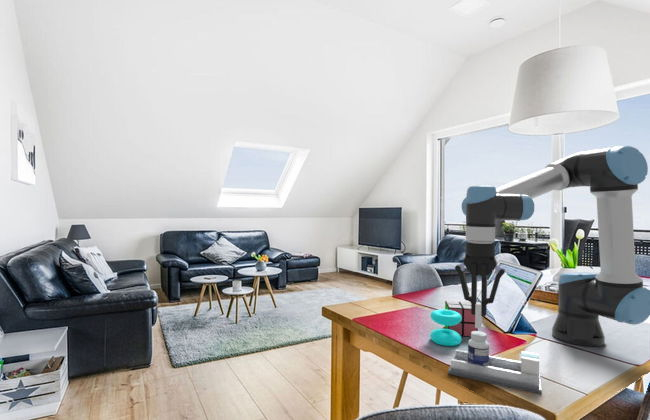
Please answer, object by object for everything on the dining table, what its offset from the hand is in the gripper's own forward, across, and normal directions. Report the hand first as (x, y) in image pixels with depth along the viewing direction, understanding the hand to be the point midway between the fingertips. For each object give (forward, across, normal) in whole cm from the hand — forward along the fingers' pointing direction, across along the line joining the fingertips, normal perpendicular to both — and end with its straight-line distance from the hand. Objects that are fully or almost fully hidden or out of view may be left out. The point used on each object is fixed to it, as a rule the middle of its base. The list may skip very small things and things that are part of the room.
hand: (478, 326), depth 102 cm
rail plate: (+13, -4, 0) cm, 13 cm away
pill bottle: (+12, 0, 0) cm, 12 cm away
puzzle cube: (+13, +9, -32) cm, 36 cm away
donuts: (+13, +12, -19) cm, 26 cm away
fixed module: (+13, -13, 0) cm, 18 cm away
